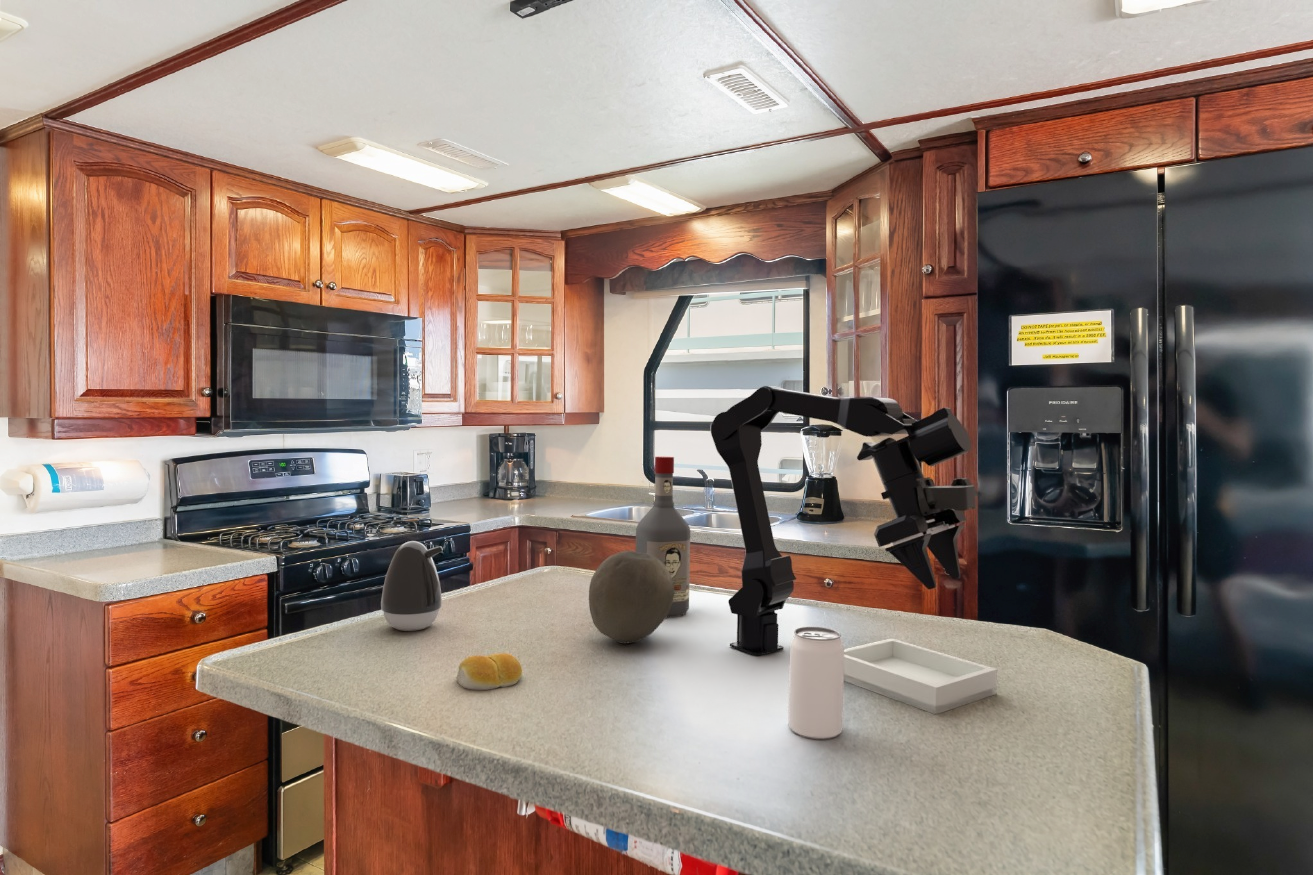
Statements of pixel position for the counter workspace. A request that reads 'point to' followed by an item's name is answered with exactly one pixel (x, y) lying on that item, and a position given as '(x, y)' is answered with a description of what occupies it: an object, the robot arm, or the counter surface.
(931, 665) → the tray
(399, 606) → the pump dispenser
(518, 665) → the bread roll
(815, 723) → the can
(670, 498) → the liquor
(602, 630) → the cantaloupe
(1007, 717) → the counter surface
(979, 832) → the counter surface
